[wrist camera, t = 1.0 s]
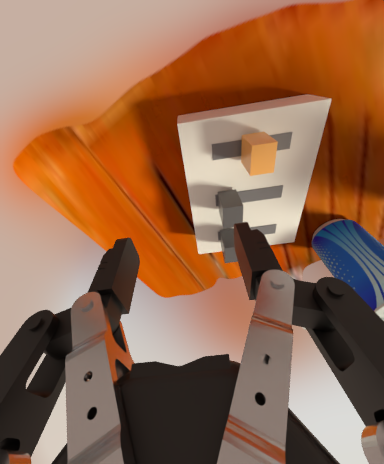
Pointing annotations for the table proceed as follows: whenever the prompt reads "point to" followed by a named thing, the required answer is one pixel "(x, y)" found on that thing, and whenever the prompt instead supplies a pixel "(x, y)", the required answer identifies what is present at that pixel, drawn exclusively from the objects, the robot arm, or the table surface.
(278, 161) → the breaker panel
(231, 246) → the block
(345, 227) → the beer can
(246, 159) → the block
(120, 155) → the table surface
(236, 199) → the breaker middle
